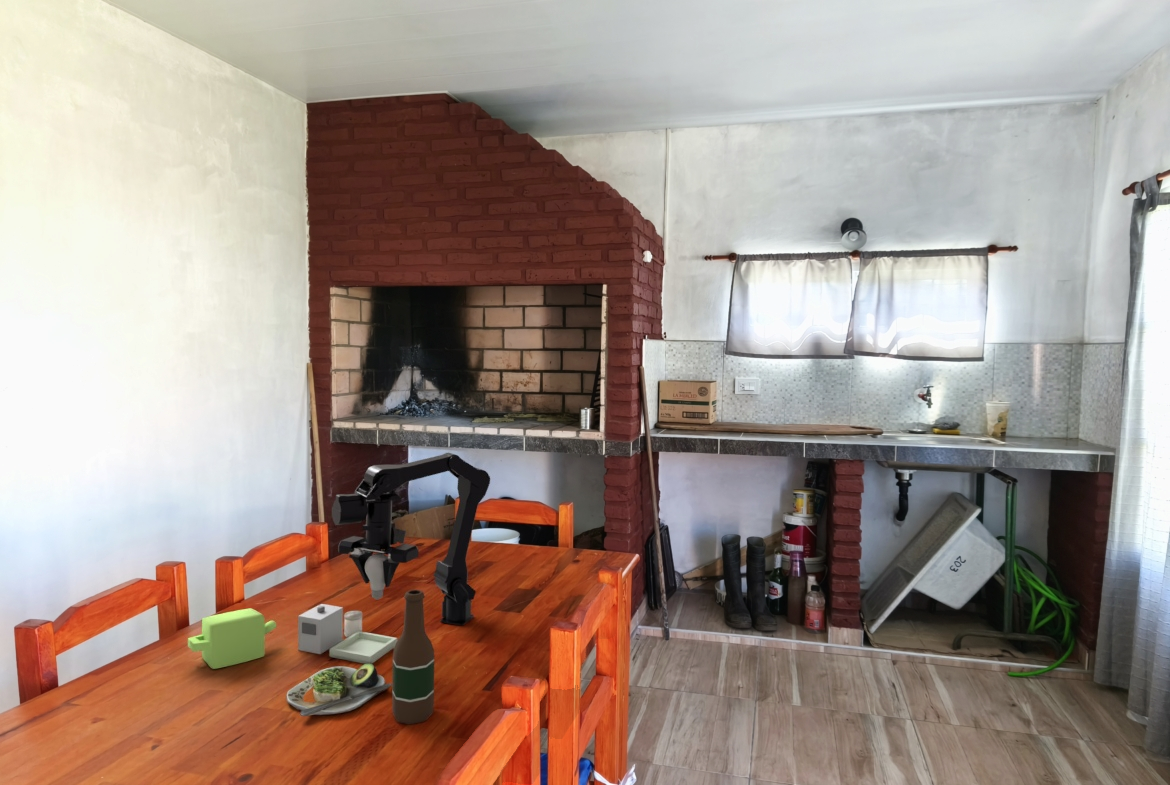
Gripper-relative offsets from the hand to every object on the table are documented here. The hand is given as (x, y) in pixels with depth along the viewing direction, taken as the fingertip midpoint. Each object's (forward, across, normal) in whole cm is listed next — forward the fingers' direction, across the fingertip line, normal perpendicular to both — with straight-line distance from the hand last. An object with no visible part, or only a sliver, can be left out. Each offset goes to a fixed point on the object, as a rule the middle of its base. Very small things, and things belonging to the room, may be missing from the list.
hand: (377, 584), depth 167 cm
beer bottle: (+14, -26, +26) cm, 39 cm away
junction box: (+14, +10, +7) cm, 18 cm away
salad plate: (+14, -8, +24) cm, 29 cm away
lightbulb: (+4, 0, 0) cm, 4 cm away
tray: (+13, -1, +6) cm, 15 cm away
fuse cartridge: (+13, +7, -1) cm, 15 cm away
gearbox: (+14, +24, +19) cm, 33 cm away
